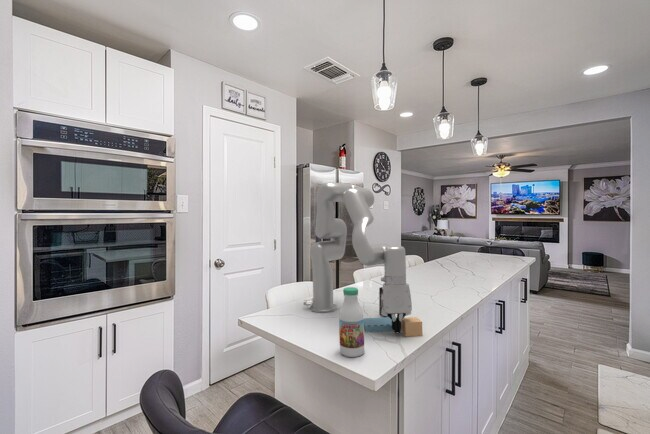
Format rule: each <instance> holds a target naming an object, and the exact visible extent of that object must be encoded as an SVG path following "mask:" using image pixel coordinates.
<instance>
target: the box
mask: <svg viewBox="0 0 650 434" xmlns="http://www.w3.org/2000/svg"><path fill="white" fill-rule="evenodd" d="M382 287H383V286H382ZM382 287H379V292H378V293H379V295H378V296H379V297H378V299H379V301H378V302H379V303H378V304H379V305H378V307H379V311H378V313H379V316H380V317H382V318H384V317H388V316H383V315H382V314H381V311H382V308H381V296H382Z"/></svg>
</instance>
